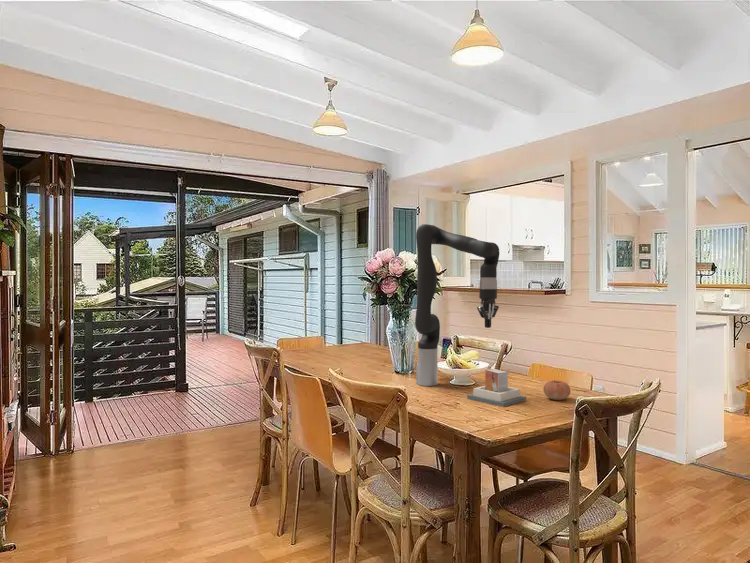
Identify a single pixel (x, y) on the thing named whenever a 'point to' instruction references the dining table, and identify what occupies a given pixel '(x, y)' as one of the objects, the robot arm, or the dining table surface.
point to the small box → (496, 380)
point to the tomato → (556, 390)
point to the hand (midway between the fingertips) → (487, 327)
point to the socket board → (496, 396)
